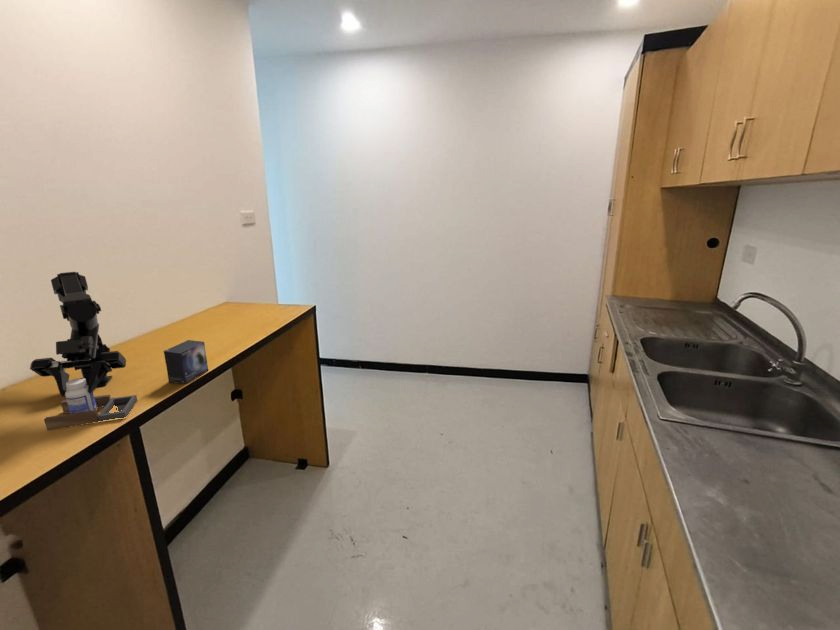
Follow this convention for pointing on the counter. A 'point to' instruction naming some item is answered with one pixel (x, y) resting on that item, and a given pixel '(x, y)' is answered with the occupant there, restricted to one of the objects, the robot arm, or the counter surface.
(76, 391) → the pill bottle
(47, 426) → the walnut channel
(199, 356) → the small box
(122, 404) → the dark shallow tray
